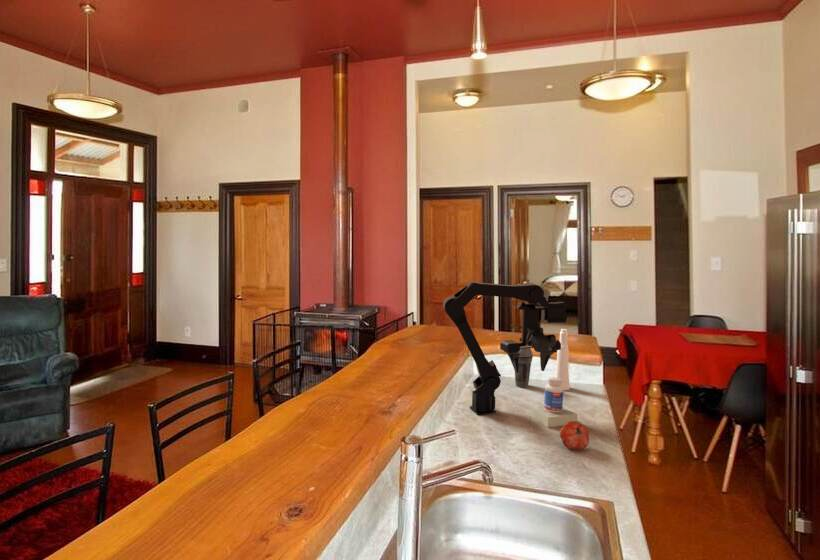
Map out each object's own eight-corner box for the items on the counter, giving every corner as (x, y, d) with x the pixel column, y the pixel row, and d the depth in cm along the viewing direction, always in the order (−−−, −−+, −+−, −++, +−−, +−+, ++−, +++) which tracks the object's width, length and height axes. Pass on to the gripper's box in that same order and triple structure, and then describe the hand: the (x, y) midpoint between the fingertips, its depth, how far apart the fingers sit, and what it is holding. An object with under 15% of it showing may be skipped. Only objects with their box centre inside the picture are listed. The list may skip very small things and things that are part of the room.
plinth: (547, 427, 145) (547, 417, 145) (530, 414, 154) (530, 405, 154) (576, 423, 148) (577, 414, 147) (558, 412, 157) (558, 402, 157)
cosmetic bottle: (549, 385, 184) (552, 328, 181) (564, 384, 185) (566, 327, 183) (558, 391, 178) (561, 331, 176) (573, 390, 179) (576, 330, 177)
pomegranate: (556, 451, 134) (561, 442, 126) (558, 424, 138) (564, 414, 130) (584, 456, 133) (592, 448, 124) (585, 430, 136) (593, 419, 128)
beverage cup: (512, 388, 181) (514, 334, 179) (511, 382, 188) (513, 330, 186) (532, 389, 179) (534, 335, 177) (531, 383, 186) (533, 331, 184)
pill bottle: (552, 414, 147) (554, 382, 146) (540, 408, 152) (541, 377, 151) (566, 411, 149) (567, 380, 149) (553, 405, 154) (555, 375, 153)
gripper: (517, 329, 144) (515, 381, 146) (572, 326, 150) (570, 376, 151) (500, 322, 155) (498, 371, 157) (552, 320, 160) (550, 367, 162)
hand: (529, 371), depth 156 cm, fingers open, 9 cm apart
